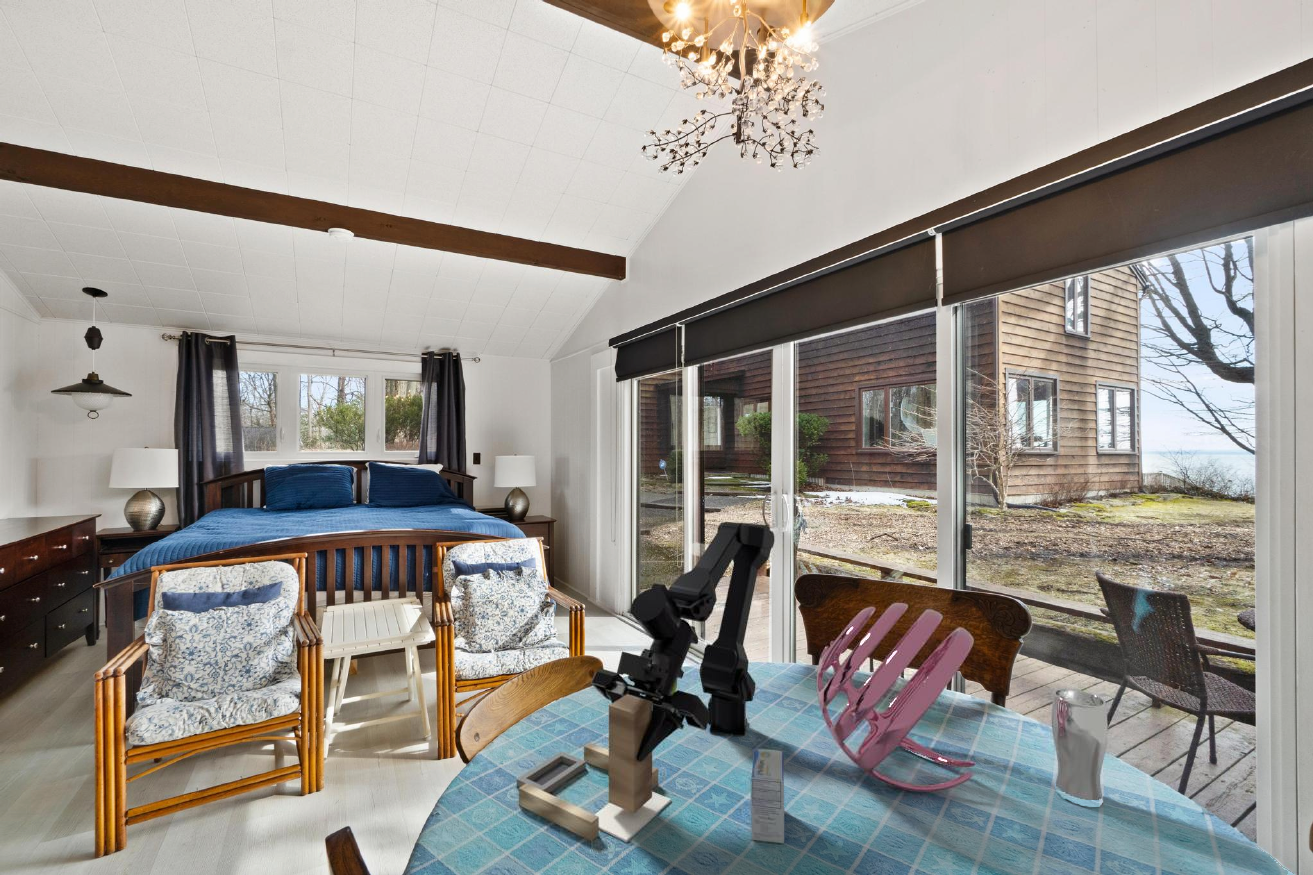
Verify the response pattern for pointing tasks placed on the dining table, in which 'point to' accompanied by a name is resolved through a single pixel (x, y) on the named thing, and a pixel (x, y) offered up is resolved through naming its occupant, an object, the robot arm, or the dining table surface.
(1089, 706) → the beer glass
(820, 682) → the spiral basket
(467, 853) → the dining table surface
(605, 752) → the channel
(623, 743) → the walnut block
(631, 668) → the robot arm
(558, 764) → the tray
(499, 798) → the dining table surface
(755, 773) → the medicine box
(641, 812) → the pad
